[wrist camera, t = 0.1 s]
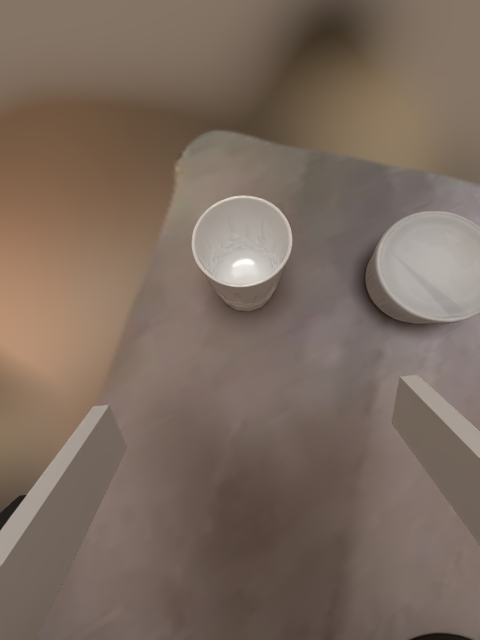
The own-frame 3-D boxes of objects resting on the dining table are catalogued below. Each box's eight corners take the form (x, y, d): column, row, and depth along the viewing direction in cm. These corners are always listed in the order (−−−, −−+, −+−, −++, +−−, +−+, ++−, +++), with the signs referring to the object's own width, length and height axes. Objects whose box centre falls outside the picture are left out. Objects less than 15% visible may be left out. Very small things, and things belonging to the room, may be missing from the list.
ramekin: (346, 317, 28) (367, 304, 22) (364, 229, 30) (387, 199, 24) (453, 343, 26) (501, 336, 21) (463, 250, 28) (509, 222, 23)
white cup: (266, 244, 30) (271, 182, 20) (289, 303, 28) (307, 267, 18) (205, 265, 30) (180, 213, 20) (224, 326, 28) (207, 301, 18)
